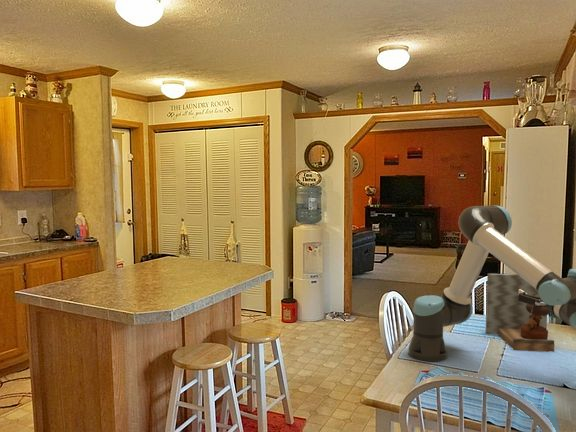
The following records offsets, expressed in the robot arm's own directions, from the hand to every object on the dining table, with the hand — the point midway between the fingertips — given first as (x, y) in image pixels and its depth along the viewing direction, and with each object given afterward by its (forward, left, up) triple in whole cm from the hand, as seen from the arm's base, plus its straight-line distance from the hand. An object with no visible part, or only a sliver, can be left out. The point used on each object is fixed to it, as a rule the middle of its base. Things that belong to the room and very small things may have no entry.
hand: (537, 293), depth 183 cm
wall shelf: (+4, +21, -27) cm, 34 cm away
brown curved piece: (+8, +20, -24) cm, 32 cm away
